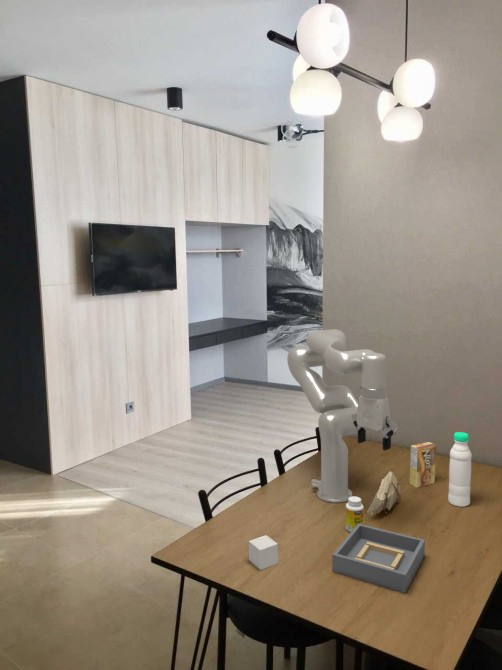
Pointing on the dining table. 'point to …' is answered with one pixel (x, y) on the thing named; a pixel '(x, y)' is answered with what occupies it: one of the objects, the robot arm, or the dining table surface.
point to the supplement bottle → (354, 513)
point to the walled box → (379, 557)
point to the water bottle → (460, 471)
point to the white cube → (263, 552)
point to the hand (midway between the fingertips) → (373, 445)
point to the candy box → (422, 464)
